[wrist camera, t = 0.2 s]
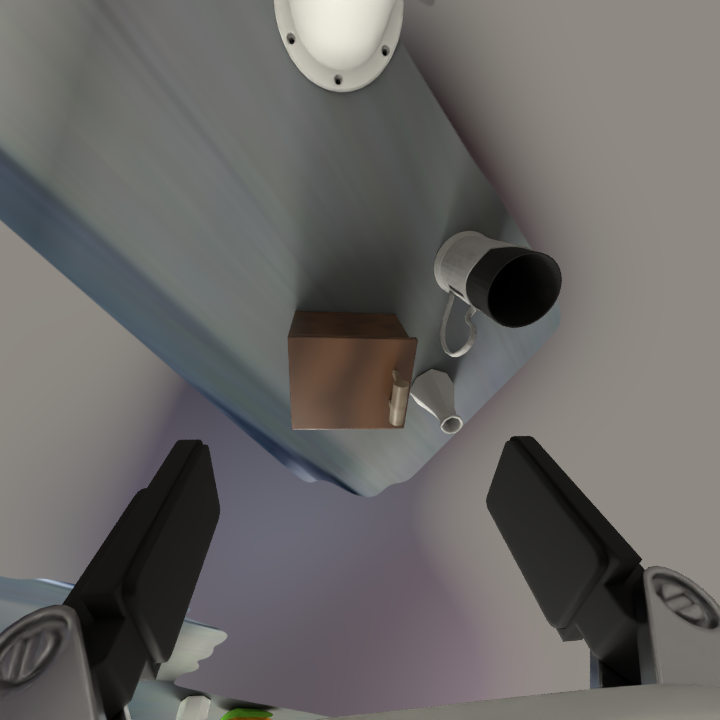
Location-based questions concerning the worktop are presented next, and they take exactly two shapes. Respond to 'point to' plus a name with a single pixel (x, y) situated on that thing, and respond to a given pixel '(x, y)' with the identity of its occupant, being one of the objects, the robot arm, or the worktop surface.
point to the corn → (247, 714)
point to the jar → (193, 708)
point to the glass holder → (495, 281)
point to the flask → (437, 398)
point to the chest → (346, 324)
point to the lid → (350, 381)
